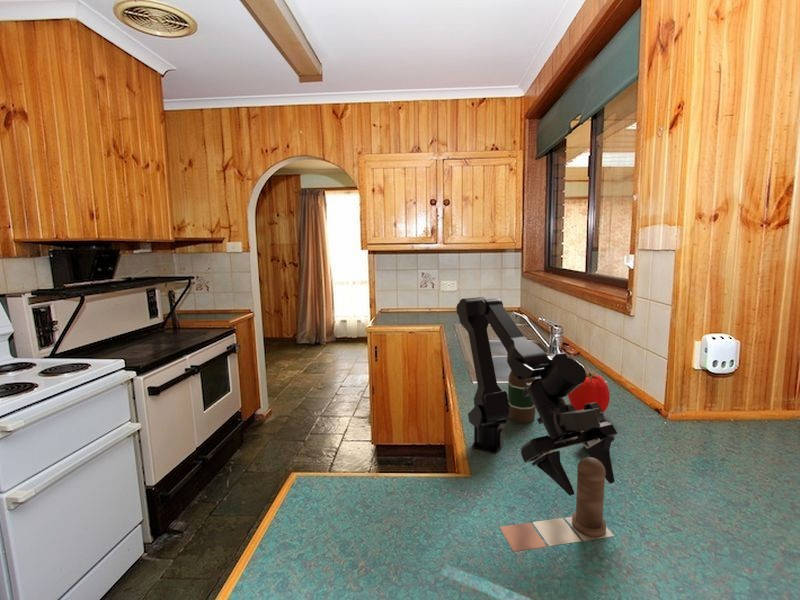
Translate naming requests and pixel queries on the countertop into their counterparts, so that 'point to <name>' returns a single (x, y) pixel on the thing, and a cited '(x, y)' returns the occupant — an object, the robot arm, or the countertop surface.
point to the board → (544, 534)
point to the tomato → (590, 393)
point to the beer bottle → (520, 400)
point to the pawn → (590, 498)
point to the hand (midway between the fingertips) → (592, 488)
